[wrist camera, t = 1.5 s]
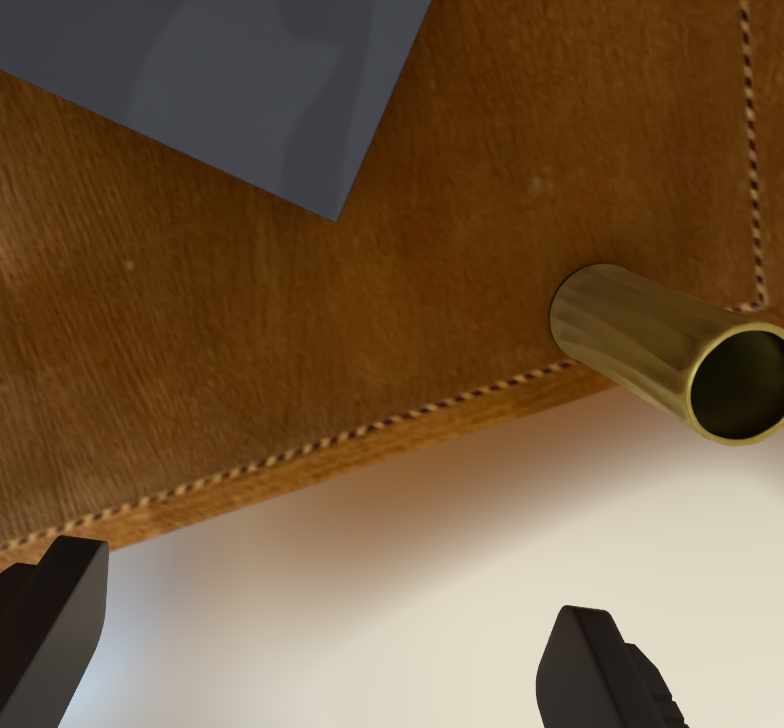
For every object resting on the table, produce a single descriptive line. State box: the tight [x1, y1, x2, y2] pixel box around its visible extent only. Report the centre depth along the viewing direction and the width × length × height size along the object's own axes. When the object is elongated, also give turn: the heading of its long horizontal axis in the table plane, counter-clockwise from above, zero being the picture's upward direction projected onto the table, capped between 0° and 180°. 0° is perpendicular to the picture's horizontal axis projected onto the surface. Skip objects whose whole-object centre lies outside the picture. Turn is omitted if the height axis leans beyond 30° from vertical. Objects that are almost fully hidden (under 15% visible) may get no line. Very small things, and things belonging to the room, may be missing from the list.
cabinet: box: [0, 0, 432, 223], centre depth 28 cm, size 15×13×10 cm
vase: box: [550, 264, 784, 446], centre depth 32 cm, size 6×6×14 cm
